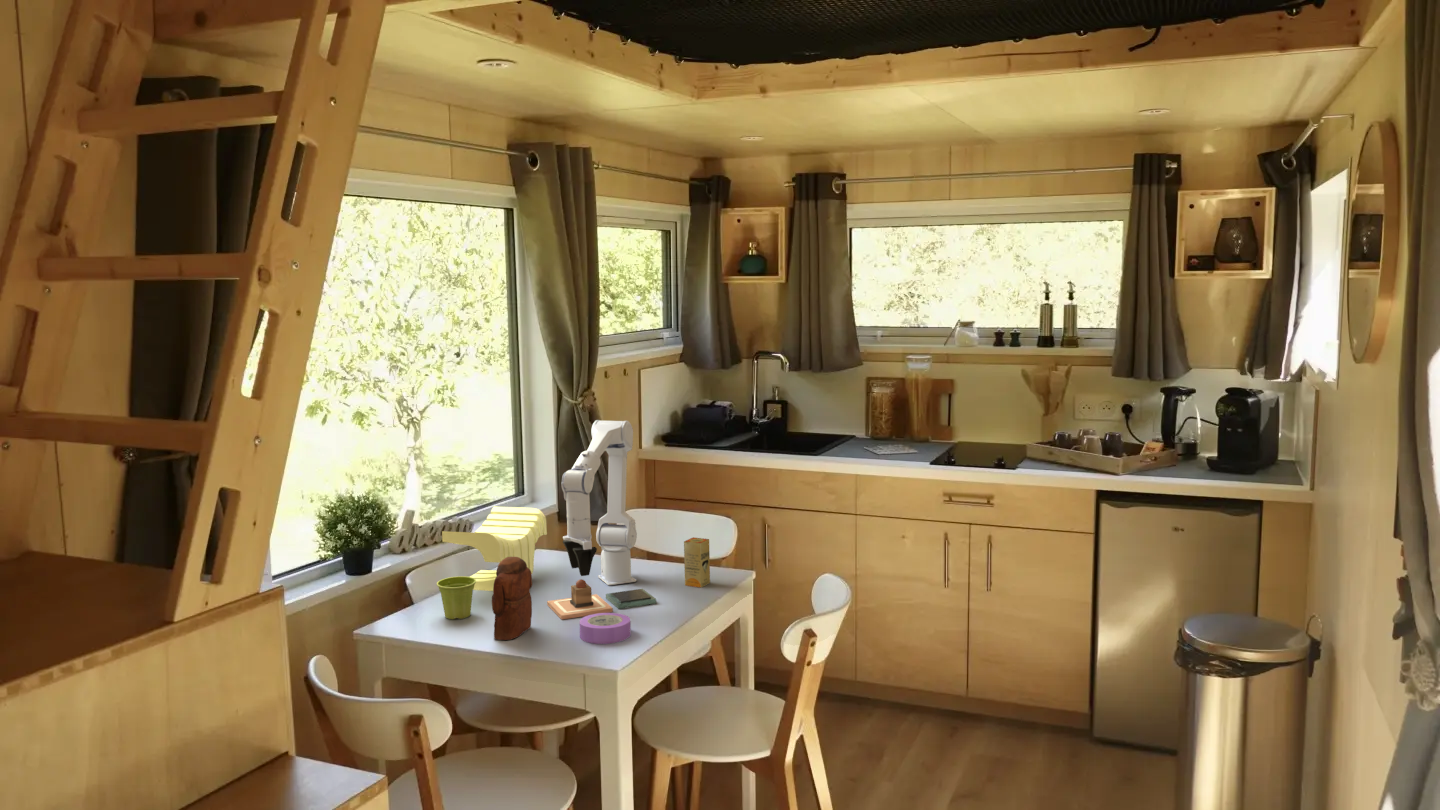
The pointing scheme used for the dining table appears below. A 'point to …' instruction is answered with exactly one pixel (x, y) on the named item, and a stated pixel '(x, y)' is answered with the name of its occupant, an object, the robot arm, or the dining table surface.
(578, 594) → the walnut stamp
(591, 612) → the marked board
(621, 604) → the ink pad
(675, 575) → the dining table surface
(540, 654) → the dining table surface
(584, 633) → the masking tape
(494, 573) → the slatted curved stool
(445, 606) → the plant pot
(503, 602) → the wooden figurine
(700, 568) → the shoe polish box
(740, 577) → the dining table surface
